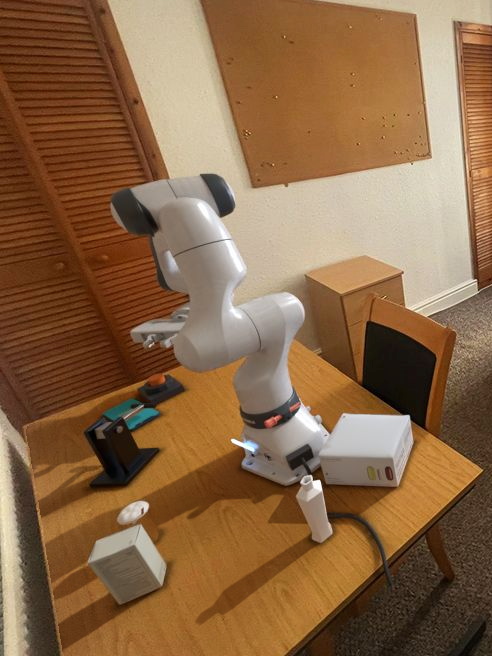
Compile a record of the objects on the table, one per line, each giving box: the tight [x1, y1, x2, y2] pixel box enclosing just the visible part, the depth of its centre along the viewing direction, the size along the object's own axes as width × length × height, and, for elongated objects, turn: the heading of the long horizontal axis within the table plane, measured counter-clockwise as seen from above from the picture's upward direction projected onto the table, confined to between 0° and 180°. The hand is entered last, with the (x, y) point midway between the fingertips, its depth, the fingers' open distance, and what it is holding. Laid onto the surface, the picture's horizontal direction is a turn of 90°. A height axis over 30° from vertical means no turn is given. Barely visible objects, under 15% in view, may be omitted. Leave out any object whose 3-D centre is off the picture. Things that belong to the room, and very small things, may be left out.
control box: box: [136, 373, 186, 405], centre depth 120 cm, size 10×8×4 cm
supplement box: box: [318, 412, 414, 488], centre depth 95 cm, size 17×13×9 cm
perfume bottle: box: [295, 475, 334, 544], centre depth 78 cm, size 5×4×15 cm
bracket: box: [82, 417, 161, 489], centre depth 93 cm, size 10×8×14 cm
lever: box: [95, 402, 158, 439], centre depth 96 cm, size 12×6×2 cm, turn 3°
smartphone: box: [102, 398, 161, 432], centre depth 112 cm, size 7×1×15 cm
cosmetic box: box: [87, 524, 168, 606], centre depth 70 cm, size 6×4×12 cm
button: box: [147, 372, 166, 386], centre depth 119 cm, size 4×4×2 cm
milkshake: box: [116, 500, 160, 544], centre depth 78 cm, size 4×5×10 cm
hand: (154, 346), depth 105 cm, fingers open, 3 cm apart
